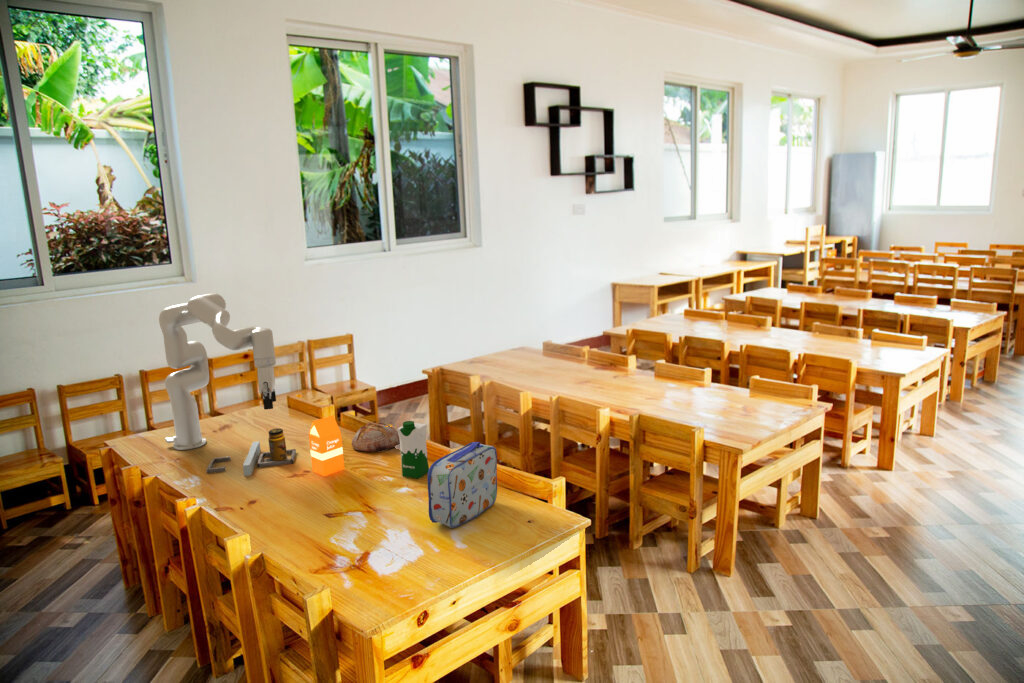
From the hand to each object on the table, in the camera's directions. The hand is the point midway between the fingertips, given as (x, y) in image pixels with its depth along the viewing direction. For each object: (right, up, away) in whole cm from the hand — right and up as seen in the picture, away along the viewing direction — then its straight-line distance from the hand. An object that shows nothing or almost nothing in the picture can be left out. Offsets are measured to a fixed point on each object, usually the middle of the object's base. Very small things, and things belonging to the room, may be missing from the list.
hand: (270, 405), depth 270 cm
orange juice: (+24, -23, -8) cm, 35 cm away
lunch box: (+78, -30, -49) cm, 96 cm away
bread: (+38, -18, +15) cm, 45 cm away
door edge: (-8, -22, +3) cm, 24 cm away
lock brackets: (-8, -22, +3) cm, 24 cm away
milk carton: (+57, -23, -15) cm, 64 cm away
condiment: (+1, -22, +5) cm, 22 cm away
